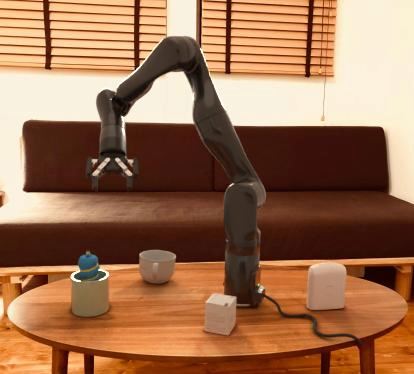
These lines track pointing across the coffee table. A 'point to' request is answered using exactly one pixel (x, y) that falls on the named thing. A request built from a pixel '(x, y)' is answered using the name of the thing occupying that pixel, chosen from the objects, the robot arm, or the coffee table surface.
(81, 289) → the green cup
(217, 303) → the product carton
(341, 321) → the coffee table surface
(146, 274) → the teacup
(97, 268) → the ornament
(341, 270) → the photo printer
